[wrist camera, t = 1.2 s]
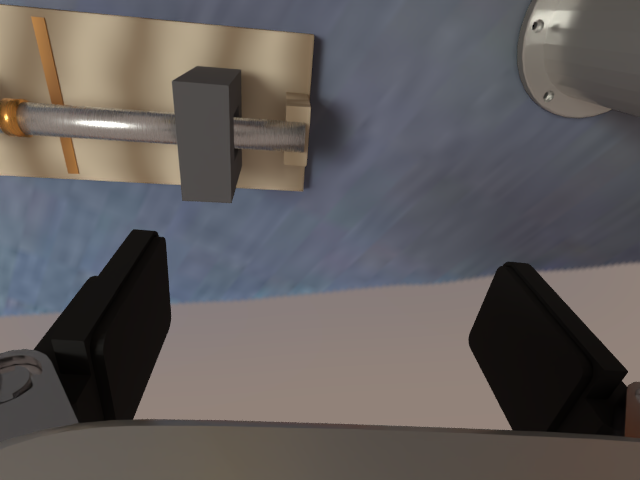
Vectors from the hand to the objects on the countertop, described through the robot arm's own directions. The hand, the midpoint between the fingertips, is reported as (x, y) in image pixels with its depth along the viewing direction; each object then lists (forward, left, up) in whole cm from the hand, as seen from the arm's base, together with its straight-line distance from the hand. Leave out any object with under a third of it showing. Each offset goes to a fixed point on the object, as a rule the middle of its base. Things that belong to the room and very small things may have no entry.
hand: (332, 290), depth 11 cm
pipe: (+12, +1, -19) cm, 22 cm away
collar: (+6, +1, -21) cm, 22 cm away
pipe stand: (+12, +1, -24) cm, 27 cm away
